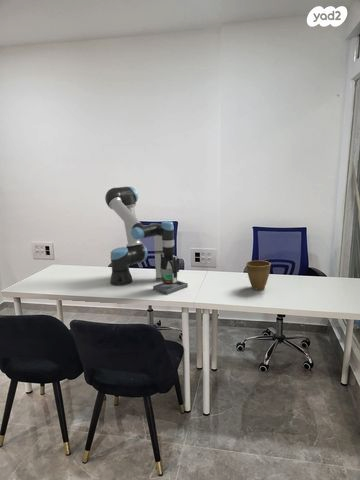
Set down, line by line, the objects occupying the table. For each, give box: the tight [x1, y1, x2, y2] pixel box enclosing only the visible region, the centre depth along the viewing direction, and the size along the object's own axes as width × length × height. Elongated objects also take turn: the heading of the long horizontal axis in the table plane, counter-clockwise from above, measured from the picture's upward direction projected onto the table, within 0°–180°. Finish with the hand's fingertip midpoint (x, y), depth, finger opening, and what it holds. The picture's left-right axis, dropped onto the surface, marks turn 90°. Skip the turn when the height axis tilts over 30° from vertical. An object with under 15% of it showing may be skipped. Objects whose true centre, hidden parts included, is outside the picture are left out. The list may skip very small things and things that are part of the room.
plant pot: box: [245, 260, 272, 291], centre depth 213 cm, size 15×15×16 cm
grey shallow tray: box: [152, 279, 189, 296], centre depth 220 cm, size 14×18×2 cm
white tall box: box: [153, 236, 172, 282], centre depth 237 cm, size 11×11×35 cm
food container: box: [160, 268, 178, 285], centre depth 218 cm, size 12×6×10 cm, turn 104°
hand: (170, 281), depth 219 cm, fingers closed on food container, 8 cm apart
